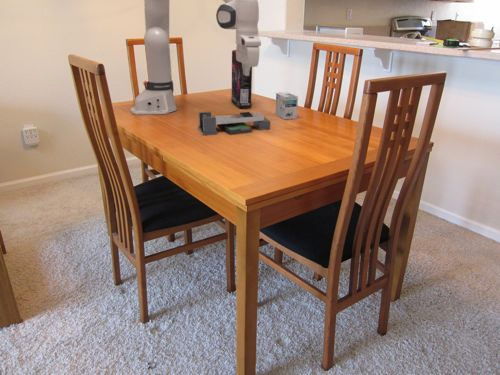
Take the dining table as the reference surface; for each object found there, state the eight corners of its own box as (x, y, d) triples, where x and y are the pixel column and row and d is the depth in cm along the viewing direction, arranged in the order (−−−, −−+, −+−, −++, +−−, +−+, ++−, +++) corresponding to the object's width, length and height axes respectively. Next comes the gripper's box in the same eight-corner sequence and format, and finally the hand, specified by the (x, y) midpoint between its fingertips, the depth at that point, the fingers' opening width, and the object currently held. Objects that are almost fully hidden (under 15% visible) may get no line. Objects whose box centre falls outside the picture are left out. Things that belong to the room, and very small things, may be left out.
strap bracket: (203, 135, 169) (202, 118, 167) (198, 128, 179) (197, 112, 176) (271, 130, 178) (271, 113, 175) (262, 123, 187) (263, 107, 184)
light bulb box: (297, 118, 195) (298, 95, 191) (284, 120, 193) (285, 96, 188) (287, 113, 204) (288, 91, 200) (274, 114, 202) (275, 92, 197)
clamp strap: (206, 125, 171) (205, 119, 170) (203, 121, 176) (203, 115, 175) (264, 120, 178) (264, 114, 176) (259, 117, 183) (259, 111, 182)
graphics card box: (230, 102, 225) (230, 49, 214) (243, 101, 227) (243, 49, 216) (239, 109, 211) (239, 53, 199) (252, 108, 213) (253, 52, 201)
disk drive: (216, 127, 183) (229, 136, 170) (216, 121, 181) (229, 129, 169) (237, 124, 187) (252, 133, 175) (237, 118, 186) (252, 126, 173)
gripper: (232, 37, 173) (232, 71, 179) (246, 41, 155) (245, 79, 161) (247, 37, 175) (246, 71, 180) (262, 41, 157) (261, 79, 163)
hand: (246, 75), depth 170 cm, fingers closed
